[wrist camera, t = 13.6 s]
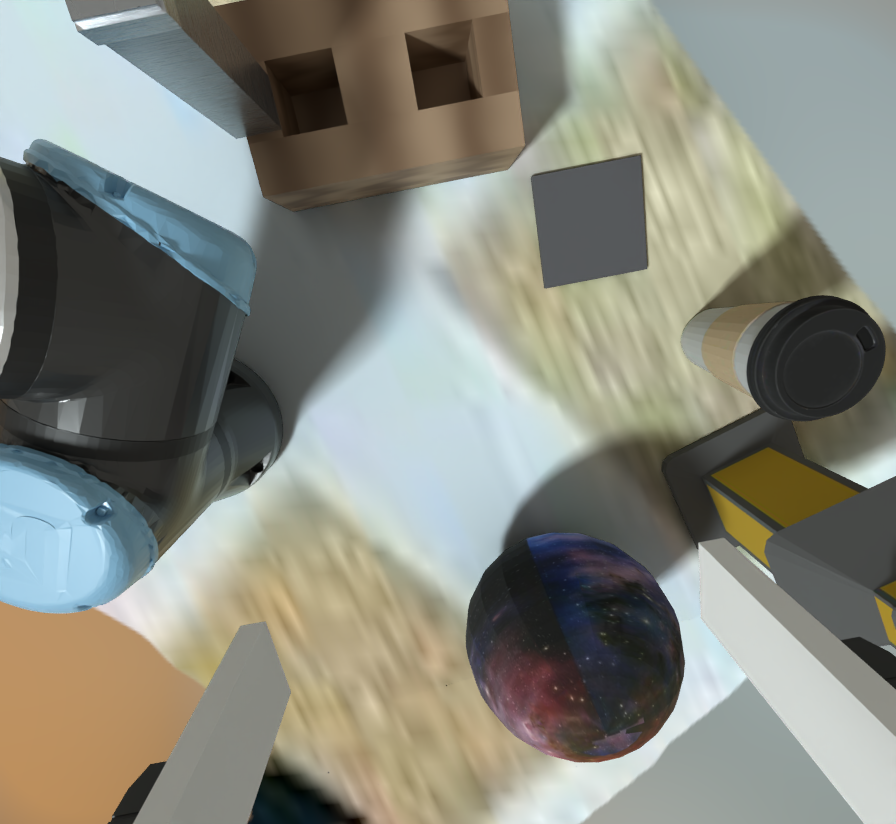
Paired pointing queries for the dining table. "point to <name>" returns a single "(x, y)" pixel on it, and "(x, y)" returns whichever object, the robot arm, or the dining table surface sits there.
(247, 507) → the dining table surface
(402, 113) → the socket block
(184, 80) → the plug
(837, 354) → the coffee cup
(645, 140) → the dining table surface
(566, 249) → the mat
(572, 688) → the decorative sphere
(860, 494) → the lantern
